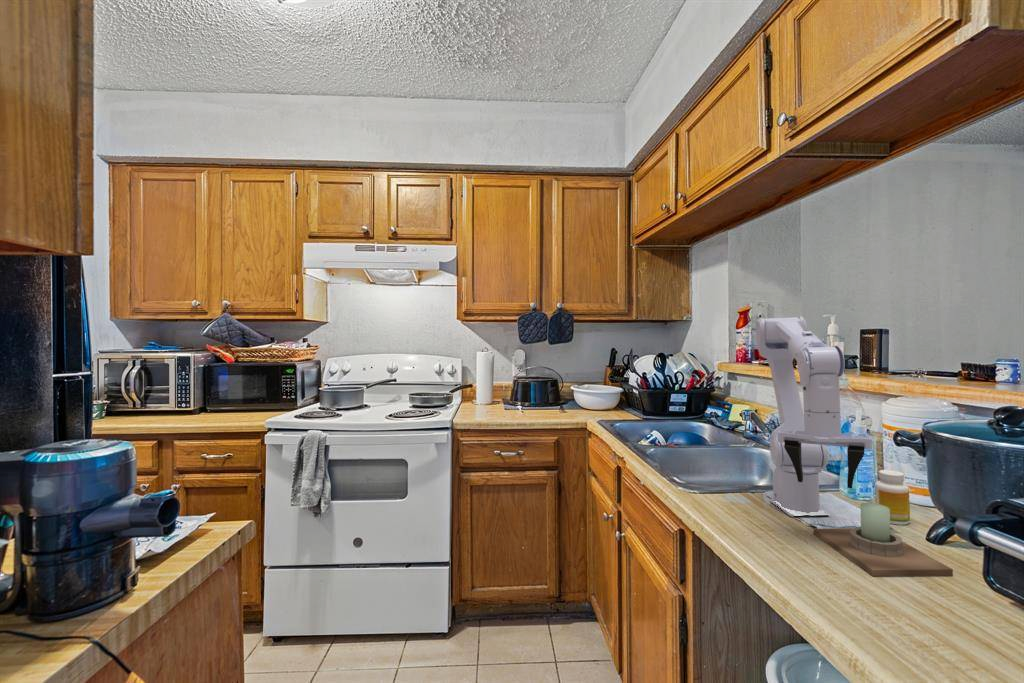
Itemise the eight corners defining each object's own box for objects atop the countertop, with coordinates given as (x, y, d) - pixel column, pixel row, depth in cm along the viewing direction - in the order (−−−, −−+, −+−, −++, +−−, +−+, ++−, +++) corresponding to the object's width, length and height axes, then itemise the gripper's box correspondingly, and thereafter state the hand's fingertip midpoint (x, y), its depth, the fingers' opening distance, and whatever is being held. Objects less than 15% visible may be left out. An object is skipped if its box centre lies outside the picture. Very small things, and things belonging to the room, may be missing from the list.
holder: (813, 533, 90) (813, 518, 90) (878, 532, 89) (877, 517, 89) (873, 576, 74) (872, 557, 74) (952, 575, 73) (952, 556, 73)
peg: (855, 541, 84) (855, 503, 83) (878, 541, 83) (877, 502, 83) (872, 552, 80) (871, 511, 79) (896, 552, 79) (895, 511, 79)
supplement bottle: (916, 526, 92) (915, 476, 92) (885, 524, 93) (883, 476, 93) (899, 515, 97) (898, 468, 97) (870, 514, 98) (868, 468, 98)
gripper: (774, 411, 88) (777, 483, 88) (871, 416, 80) (874, 496, 80) (779, 406, 94) (781, 474, 94) (870, 410, 86) (873, 485, 85)
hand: (824, 483), depth 87 cm, fingers open, 7 cm apart
